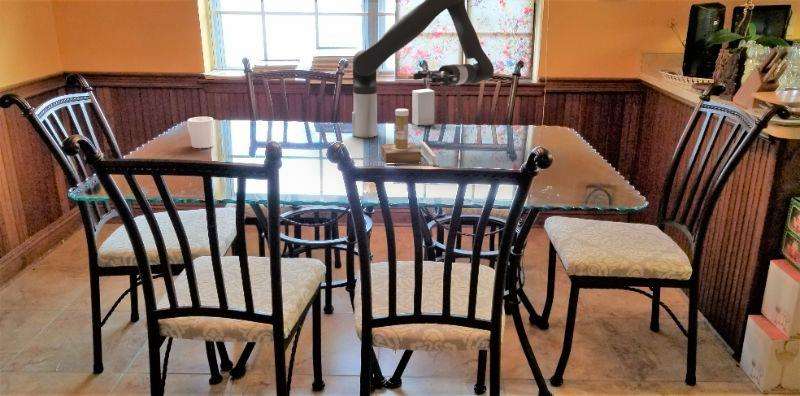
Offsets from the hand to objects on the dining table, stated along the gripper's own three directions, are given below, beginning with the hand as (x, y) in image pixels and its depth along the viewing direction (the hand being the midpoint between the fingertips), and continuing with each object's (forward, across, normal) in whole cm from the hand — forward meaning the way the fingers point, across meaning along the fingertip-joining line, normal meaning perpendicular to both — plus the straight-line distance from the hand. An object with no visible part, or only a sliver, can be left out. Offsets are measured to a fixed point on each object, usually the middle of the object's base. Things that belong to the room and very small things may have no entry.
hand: (423, 78), depth 220 cm
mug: (+51, -63, +30) cm, 87 cm away
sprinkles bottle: (+10, +1, +23) cm, 25 cm away
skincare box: (-36, -31, +27) cm, 55 cm away
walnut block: (+10, +1, +27) cm, 29 cm away
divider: (+2, +6, +27) cm, 28 cm away
